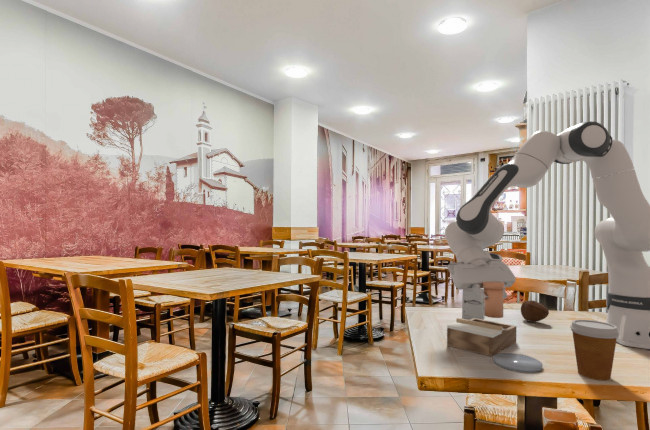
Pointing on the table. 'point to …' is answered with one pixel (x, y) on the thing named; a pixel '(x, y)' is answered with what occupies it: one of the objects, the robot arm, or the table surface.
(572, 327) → the disposable coffee cup
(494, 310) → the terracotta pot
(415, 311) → the table surface
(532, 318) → the potato
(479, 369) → the table surface
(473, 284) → the robot arm
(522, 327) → the table surface
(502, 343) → the wooden box
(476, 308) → the supplement box
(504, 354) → the saucer
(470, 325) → the lid panel
